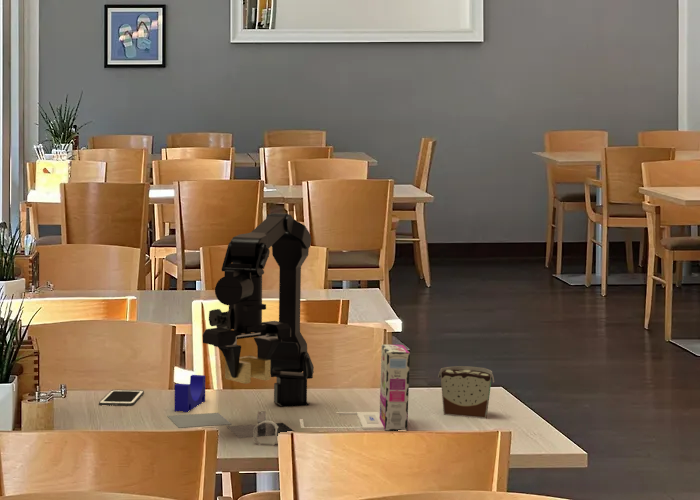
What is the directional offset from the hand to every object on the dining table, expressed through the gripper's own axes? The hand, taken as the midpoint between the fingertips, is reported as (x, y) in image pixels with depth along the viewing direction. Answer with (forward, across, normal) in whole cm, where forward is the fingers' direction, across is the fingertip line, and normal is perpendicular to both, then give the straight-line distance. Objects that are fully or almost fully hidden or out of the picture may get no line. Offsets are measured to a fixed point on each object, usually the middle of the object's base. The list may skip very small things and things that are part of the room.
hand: (247, 375), depth 254 cm
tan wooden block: (+1, 0, 0) cm, 1 cm away
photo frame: (+12, -20, +7) cm, 24 cm away
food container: (+12, -47, +18) cm, 52 cm away
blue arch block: (+12, -4, -27) cm, 29 cm away
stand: (+11, -1, +3) cm, 12 cm away
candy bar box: (+12, -26, +16) cm, 33 cm away
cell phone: (+12, +3, -42) cm, 43 cm away
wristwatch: (+12, +5, +13) cm, 18 cm away
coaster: (+11, +4, -12) cm, 17 cm away
